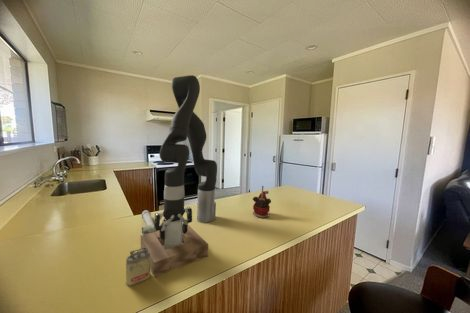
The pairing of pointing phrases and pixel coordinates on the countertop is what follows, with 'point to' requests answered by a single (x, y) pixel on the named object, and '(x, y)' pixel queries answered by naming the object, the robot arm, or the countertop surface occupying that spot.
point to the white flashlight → (147, 223)
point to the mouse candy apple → (261, 205)
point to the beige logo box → (138, 266)
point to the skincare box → (173, 234)
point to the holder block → (173, 251)
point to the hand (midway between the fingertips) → (173, 235)
